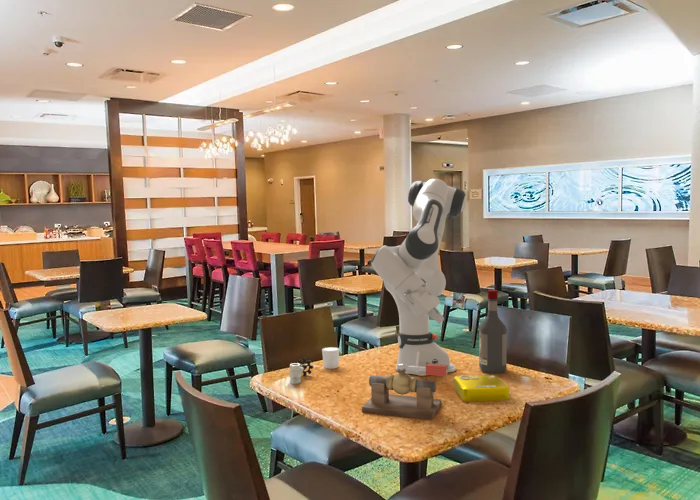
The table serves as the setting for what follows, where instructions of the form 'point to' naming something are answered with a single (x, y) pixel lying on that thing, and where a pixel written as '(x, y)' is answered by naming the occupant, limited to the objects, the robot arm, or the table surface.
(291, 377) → the valve
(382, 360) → the table surface
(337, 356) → the white cylinder
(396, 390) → the valve stand
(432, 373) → the valve lever
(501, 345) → the liquor
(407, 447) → the table surface
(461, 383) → the element tile
